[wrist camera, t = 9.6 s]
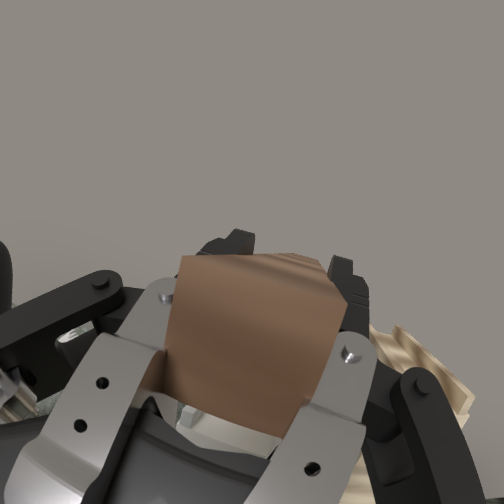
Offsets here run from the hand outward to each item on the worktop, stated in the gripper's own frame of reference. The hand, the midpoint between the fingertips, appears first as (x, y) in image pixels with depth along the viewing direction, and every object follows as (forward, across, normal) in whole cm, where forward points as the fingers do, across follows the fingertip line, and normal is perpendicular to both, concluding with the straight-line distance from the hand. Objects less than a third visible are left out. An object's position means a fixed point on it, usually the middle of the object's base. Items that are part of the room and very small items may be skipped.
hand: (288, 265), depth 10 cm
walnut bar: (+6, 0, +7) cm, 9 cm away
